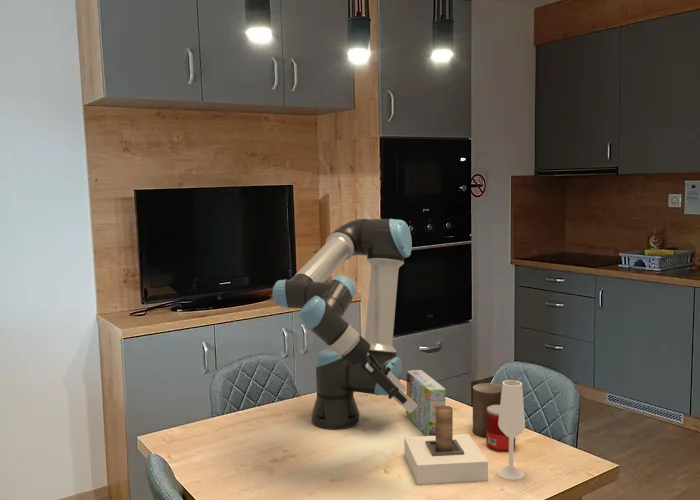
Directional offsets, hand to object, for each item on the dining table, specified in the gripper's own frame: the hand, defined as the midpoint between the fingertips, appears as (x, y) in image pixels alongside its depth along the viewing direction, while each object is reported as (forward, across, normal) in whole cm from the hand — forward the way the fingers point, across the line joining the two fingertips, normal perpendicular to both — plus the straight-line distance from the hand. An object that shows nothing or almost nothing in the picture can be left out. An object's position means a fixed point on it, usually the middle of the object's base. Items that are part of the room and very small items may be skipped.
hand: (408, 400), depth 170 cm
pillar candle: (+34, -22, +7) cm, 41 cm away
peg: (+20, 0, -6) cm, 21 cm away
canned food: (+34, -11, +7) cm, 36 cm away
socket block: (+20, 0, -6) cm, 21 cm away
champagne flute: (+31, +6, +5) cm, 32 cm away
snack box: (+21, -29, -6) cm, 36 cm away
